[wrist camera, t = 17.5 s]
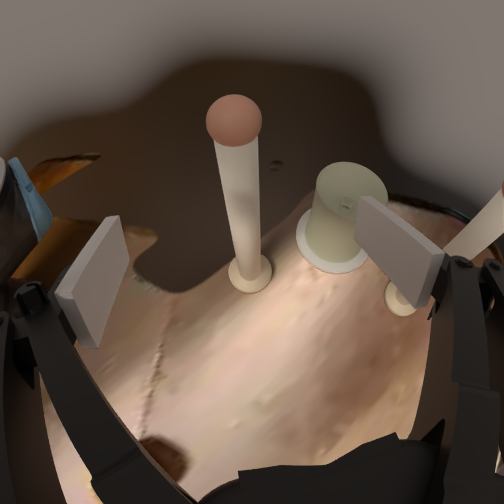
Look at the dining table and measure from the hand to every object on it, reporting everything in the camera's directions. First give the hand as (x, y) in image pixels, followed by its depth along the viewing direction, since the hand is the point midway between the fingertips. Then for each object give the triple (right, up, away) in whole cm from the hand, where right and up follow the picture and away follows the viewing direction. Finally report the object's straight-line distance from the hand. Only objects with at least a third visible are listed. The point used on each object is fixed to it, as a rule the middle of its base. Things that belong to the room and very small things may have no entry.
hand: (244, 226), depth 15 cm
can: (+13, +1, +28) cm, 31 cm away
